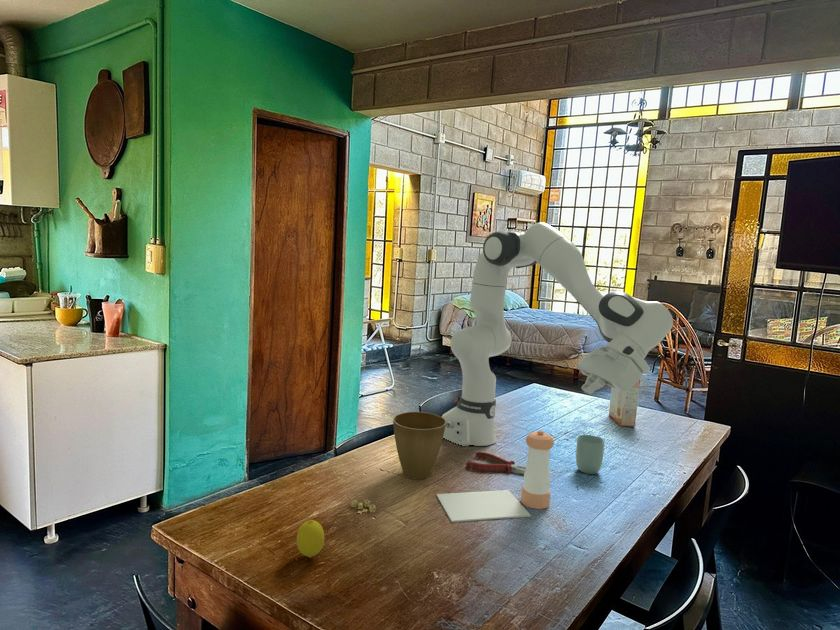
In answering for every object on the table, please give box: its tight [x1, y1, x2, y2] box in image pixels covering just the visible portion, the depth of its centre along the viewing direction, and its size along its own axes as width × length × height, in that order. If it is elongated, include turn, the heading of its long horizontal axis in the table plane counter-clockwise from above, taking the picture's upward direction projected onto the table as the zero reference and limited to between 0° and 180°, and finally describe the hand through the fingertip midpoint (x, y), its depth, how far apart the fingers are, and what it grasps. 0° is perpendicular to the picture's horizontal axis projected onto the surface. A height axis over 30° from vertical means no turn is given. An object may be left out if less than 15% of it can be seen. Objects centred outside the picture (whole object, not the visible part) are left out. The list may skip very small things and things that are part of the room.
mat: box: [435, 489, 531, 523], centre depth 139 cm, size 20×14×1 cm
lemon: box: [296, 519, 325, 559], centre depth 112 cm, size 6×6×8 cm
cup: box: [575, 434, 605, 475], centre depth 164 cm, size 8×8×10 cm
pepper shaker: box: [520, 429, 555, 510], centre depth 141 cm, size 7×7×19 cm
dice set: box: [350, 499, 376, 515], centre depth 134 cm, size 5×5×2 cm
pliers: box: [465, 451, 526, 475], centre depth 163 cm, size 12×20×3 cm, turn 66°
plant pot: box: [392, 411, 446, 480], centre depth 156 cm, size 15×15×16 cm
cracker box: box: [608, 379, 641, 427], centre depth 215 cm, size 14×6×21 cm, turn 179°
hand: (585, 391), depth 141 cm, fingers closed
